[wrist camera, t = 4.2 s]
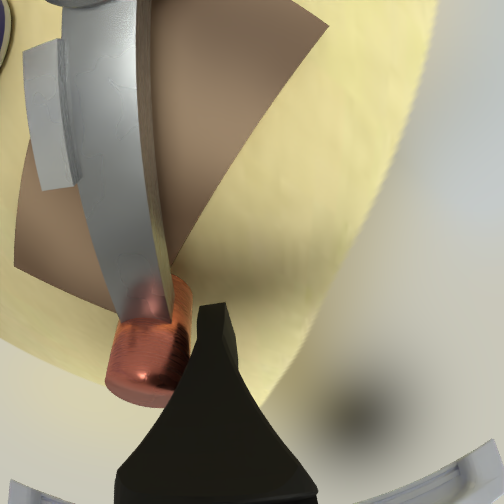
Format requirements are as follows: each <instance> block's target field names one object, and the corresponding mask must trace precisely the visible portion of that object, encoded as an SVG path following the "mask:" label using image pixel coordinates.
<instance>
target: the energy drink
mask: <svg viewBox="0 0 504 504" xmlns="http://www.w3.org/2000/svg"><path fill="white" fill-rule="evenodd" d="M10 33H11V14H10V8H9V6H8V3H7V1H6V0H0V67H1V65H2V63H3V60H4V57H5V55H6V52H7V48H8V44H9V40H10Z"/></svg>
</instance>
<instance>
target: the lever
mask: <svg viewBox="0 0 504 504" xmlns="http://www.w3.org/2000/svg"><path fill="white" fill-rule="evenodd" d="M46 1H47V2H49V3H51V4H54V5H57V6H62V7H63V9H62V36H61V39H54V40H52V41H49V42H46V43H43V44H41V45H38V46H36V47H33V48H31V49H28V50H26V51H24V52H23V76H24V90H25V101H26V110H27V118H28V125H29V131H30V138H31V143H32V149H33V154H34V159H35V164H36V168H37V173H38V177H39V181H40V185H41V189H42V191H46V190H52V189H59V188H66V187H74V186H75V185H76V184H77V185H78V189H79V194H80V198H81V202H82V206H83V210H84V214H85V218H86V222H87V225H88V229H89V233H90V236H91V240H92V243H93V246H94V250H95V253H96V256H97V259H98V262H99V265H100V268H101V271H102V274H103V277H104V280H105V283H106V285H107V288H108V291H109V294H110V296H111V299H112V302H113V304H114V307H115V309H116V312H117V314H118V317H119V321H118V325H117V329H116V333H115V337H114V341H113V345H112V350H111V354H110V359H109V363H108V368H107V373H106V378H105V384H106V386H107V388H108V389H109V390H110V391H111V392H112V393H113V394H114V395H116V396H117V397H119V398H121V399H123V400H125V401H127V402H130V403H133V404H136V405H139V406H144V407H151V408H165V407H166V405H167V403H168V402H169V400H170V398H171V396H172V394H173V393H174V391H175V389H176V387H177V385H178V383H179V381H180V379H181V377H182V375H183V372H184V370H185V368H186V365H187V363H188V361H189V359H190V349H191V324H192V305H193V295H192V292H191V290H190V288H189V286H188V285H187V284H186V283H185V282H184V281H183V280H182V279H180V278H179V277H177V276H175V275H173V274H171V270H170V264H169V258H168V252H167V246H166V239H165V233H164V226H163V219H162V211H161V204H160V196H159V187H158V178H157V168H156V158H155V147H154V134H153V119H152V101H151V72H150V26H151V0H46Z"/></svg>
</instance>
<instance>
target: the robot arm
mask: <svg viewBox="0 0 504 504" xmlns="http://www.w3.org/2000/svg"><path fill="white" fill-rule="evenodd" d="M317 493H318V489H317V486H316V485H315V483H314V482H313V480H312V479H311V477H310V476H309V474H308V473H307V472H306V470H305V469H304V468H303V466H302V465H301V463H300V462H299V461H298V459H297V458H296V457H295V456H294V455H293V454H292V452H291V451H290V450H289V449H288V448H287V446H286V445H285V444H284V443H283V441H282V440H281V439H280V437H279V436H278V435H277V433H276V432H275V431H274V429H273V428H272V426H271V425H270V424H269V422H268V420H267V419H266V418H265V416H264V415H263V413H262V412H261V410H260V409H259V407H258V405H257V404H256V402H255V400H254V399H253V397H252V395H251V394H250V392H249V390H248V388H247V386H246V385H245V383H244V381H243V379H242V377H241V375H240V373H239V371H238V354H237V346H236V338H235V333H234V330H233V327H232V323H231V320H230V317H229V313H228V310H227V306H226V303H225V302H223V303H217V304H210V305H203V306H200V307H199V312H198V318H197V341H196V343H195V346H194V348H193V351H192V354H191V356H190V359H189V361H188V363H187V365H186V368H185V370H184V372H183V375H182V377H181V379H180V381H179V383H178V385H177V387H176V389H175V391H174V393H173V394H172V396H171V398H170V400H169V402H168V403H167V405H166V407H165V408H164V410H163V412H162V413H161V415H160V417H159V418H158V420H157V421H156V423H155V424H154V426H153V427H152V428H151V430H150V431H149V433H148V434H147V435H146V436H145V438H144V439H143V441H142V442H141V443H140V445H139V446H138V447H137V448H136V449H135V451H134V452H133V453H132V454H131V455H130V456H129V457H128V459H127V460H126V461H125V462H124V463H123V464H122V466H120V468H119V469H118V470H117V474H116V479H115V485H114V504H318V501H317V496H316V494H317ZM502 495H504V466H503V464H502V460H501V457H500V454H499V452H498V449H497V446H496V443H495V441H494V439H491V440H489V441H488V442H486V443H485V444H483V445H481V446H480V447H478V448H477V449H475V450H473V451H472V452H470V453H468V454H467V455H465V456H463V457H461V458H460V459H458V460H456V461H454V462H452V463H450V464H449V465H447V466H445V467H443V468H441V469H440V470H439V471H436V472H434V473H432V474H430V475H428V476H426V477H424V478H422V479H420V480H417V481H415V482H413V483H410V484H408V485H406V486H403V487H401V488H398V489H395V490H393V491H390V492H388V493H385V494H382V495H379V496H377V497H373V498H370V499H367V500H364V501H361V502H358V503H354V504H492V503H493V502H494V501H496V500H497V499H498V498H500V497H501V496H502ZM8 504H74V503H71V502H68V501H65V500H62V499H60V498H57V497H54V496H52V495H49V494H46V493H43V492H41V491H38V490H35V489H33V488H30V487H28V486H26V485H23V484H21V483H19V482H17V481H15V480H12V479H11V480H10V487H9V499H8Z"/></svg>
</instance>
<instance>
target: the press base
mask: <svg viewBox="0 0 504 504" xmlns="http://www.w3.org/2000/svg"><path fill="white" fill-rule="evenodd" d="M328 27H329V25H327V24H326V23H324V22H323V21H322V20H320V19H319V18H317V17H316V16H314V15H313V14H312V13H310V12H309V11H307V10H306V9H304V8H303V7H301V6H299V5H298V4H296V3H295V2H293V1H291V0H151V26H150V72H151V101H152V119H153V134H154V147H155V158H156V168H157V178H158V187H159V196H160V204H161V211H162V219H163V226H164V233H165V239H166V246H167V252H168V258H169V264H170V267H171V265H172V264H173V262H174V260H175V258H176V256H177V255H178V253H179V251H180V249H181V247H182V246H183V244H184V242H185V240H186V239H187V237H188V235H189V233H190V232H191V230H192V228H193V227H194V225H195V223H196V221H197V220H198V218H199V216H200V215H201V213H202V211H203V210H204V208H205V206H206V205H207V203H208V201H209V200H210V198H211V196H212V195H213V193H214V191H215V190H216V188H217V186H218V185H219V183H220V182H221V180H222V178H223V177H224V175H225V174H226V172H227V170H228V169H229V167H230V166H231V164H232V162H233V161H234V159H235V158H236V156H237V155H238V153H239V152H240V150H241V148H242V147H243V145H244V144H245V142H246V141H247V139H248V138H249V136H250V135H251V133H252V132H253V130H254V129H255V127H256V126H257V124H258V123H259V121H260V120H261V118H262V117H263V115H264V114H265V113H266V111H267V110H268V108H269V107H270V105H271V104H272V102H273V101H274V100H275V98H276V97H277V95H278V94H279V92H280V91H281V90H282V88H283V87H284V85H285V84H286V83H287V81H288V80H289V78H290V77H291V76H292V74H293V73H294V72H295V70H296V69H297V68H298V66H299V65H300V63H301V62H302V61H303V59H304V58H305V57H306V55H307V54H308V53H309V51H310V50H311V49H312V48H313V46H314V45H315V44H316V42H317V41H318V40H319V38H320V37H321V36H322V35H323V33H324V32H325V31H326V30H327V28H328ZM14 267H16V268H18V269H20V270H22V271H24V272H26V273H28V274H30V275H32V276H34V277H36V278H38V279H40V280H42V281H44V282H46V283H48V284H50V285H52V286H54V287H57V288H59V289H61V290H63V291H65V292H67V293H70V294H72V295H74V296H76V297H79V298H81V299H83V300H86V301H88V302H90V303H93V304H95V305H97V306H100V307H102V308H105V309H107V310H110V311H112V312H115V313H117V312H116V309H115V307H114V304H113V302H112V299H111V296H110V294H109V291H108V288H107V285H106V283H105V280H104V277H103V274H102V271H101V268H100V265H99V262H98V259H97V256H96V253H95V250H94V246H93V243H92V240H91V236H90V233H89V229H88V225H87V222H86V218H85V214H84V210H83V206H82V202H81V198H80V194H79V189H78V185H77V184H76V185H75V186H74V187H66V188H59V189H52V190H46V191H42V189H41V185H40V181H39V177H38V173H37V168H36V164H35V159H34V154H33V149H32V143H31V138H30V140H29V145H28V149H27V153H26V158H25V163H24V168H23V174H22V179H21V186H20V192H19V200H18V208H17V217H16V229H15V245H14Z"/></svg>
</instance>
